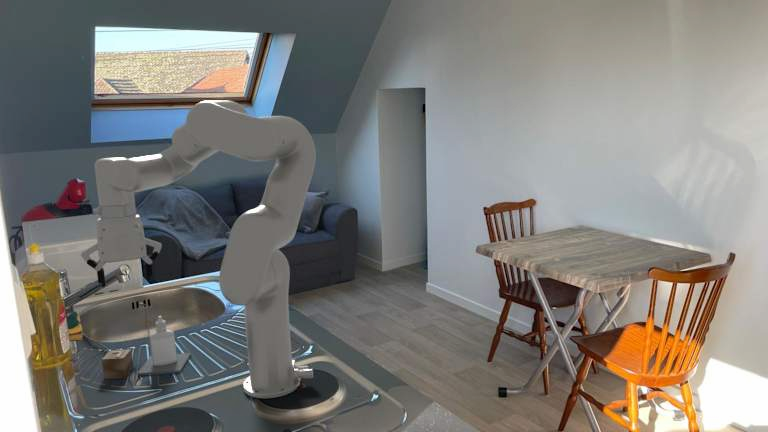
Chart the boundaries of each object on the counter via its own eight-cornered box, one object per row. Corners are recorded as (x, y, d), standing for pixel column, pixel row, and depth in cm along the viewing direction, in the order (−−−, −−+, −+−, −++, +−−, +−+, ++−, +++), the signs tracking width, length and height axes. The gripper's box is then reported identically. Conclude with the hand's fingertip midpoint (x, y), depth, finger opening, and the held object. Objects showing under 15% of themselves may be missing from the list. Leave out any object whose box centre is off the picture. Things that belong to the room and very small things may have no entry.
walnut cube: (133, 368, 143) (130, 348, 142) (126, 377, 138) (123, 357, 137) (112, 369, 143) (109, 349, 142) (104, 379, 138) (101, 358, 137)
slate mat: (191, 355, 149) (190, 353, 149) (180, 372, 139) (180, 370, 139) (151, 357, 148) (150, 355, 148) (137, 375, 139) (137, 373, 139)
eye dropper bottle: (171, 366, 141) (166, 319, 139) (150, 366, 142) (144, 319, 140) (180, 359, 146) (175, 313, 143) (159, 358, 146) (153, 313, 144)
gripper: (75, 218, 128) (84, 292, 131) (159, 210, 135) (166, 281, 138) (76, 212, 134) (85, 284, 138) (156, 205, 141) (163, 273, 145)
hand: (126, 282), depth 138 cm, fingers open, 9 cm apart
